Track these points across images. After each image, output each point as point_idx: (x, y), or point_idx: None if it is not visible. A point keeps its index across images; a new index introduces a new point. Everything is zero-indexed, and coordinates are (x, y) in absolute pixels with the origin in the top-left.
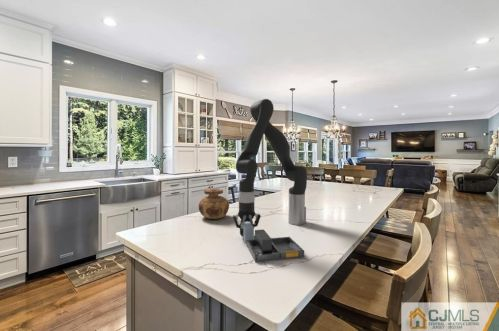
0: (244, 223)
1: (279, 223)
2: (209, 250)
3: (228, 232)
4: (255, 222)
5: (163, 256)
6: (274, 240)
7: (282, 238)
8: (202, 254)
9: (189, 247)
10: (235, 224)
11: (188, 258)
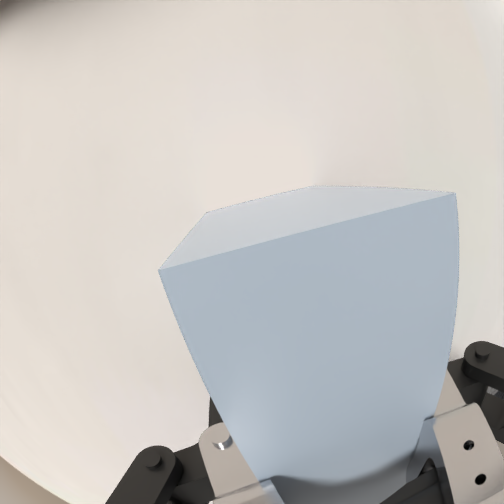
0: (308, 487)
1: (491, 17)
2: (93, 476)
3: (56, 177)
4: (495, 380)
5: (4, 457)
6: None
7: (494, 391)
8: (91, 489)
9: (5, 428)
10: (126, 473)
11: (70, 492)
